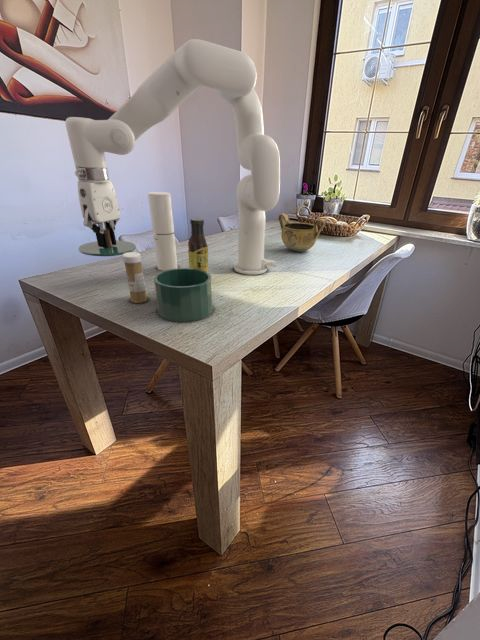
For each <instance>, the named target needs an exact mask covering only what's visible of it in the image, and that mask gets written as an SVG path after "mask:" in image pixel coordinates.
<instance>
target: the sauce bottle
mask: <svg viewBox="0 0 480 640" xmlns="http://www.w3.org/2000/svg"><path fill="white" fill-rule="evenodd" d="M189 222H190V227H191V230H190V231H191V232H190V234H191V235H190V237H189V239H188V243H187V246H188V247H187V248H188V250H187V251H188V252H187V253H188V268H191V269H198V270H203V271H205V272H207V273H209V246H208V244H207V240H206V237H205V232H204V225H205V220H204V219H203V218H195V217H194V218H190V221H189Z"/></svg>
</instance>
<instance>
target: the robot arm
mask: <svg viewBox="0 0 480 640" xmlns="http://www.w3.org/2000/svg"><path fill="white" fill-rule="evenodd" d="M257 78H258V72H257V68H256V64H255V63H254V61H253V59H252V58H251V57H250V56H249V55H248V54H247V53H246V52H243V51H240V50H238V49H234V48H230V47H227V46H224V45H220V44H217V43H214V42H211V41H207V40H203V39H199V38H191V39H189V40H187V41H186V42H184V43H183V44H182V45H181V46H180V47H179V48H178V49H175V51H174V52H173V53H172V54H171V55H170V56H169V57H168V58H166V60H165V61H163V63H162V64H161V65H160V66H159V67H158V68H156V69H155V70H154V71H153V72H152V73H151V74H150V75H149V76H148V77H147V78H145V80H144V81H142V83H141V84H140V85H139V86H138V87H137V88H136V90H135V92H134V93H133V94H132V95H131V96H130V97H129V98H128V100H127V101H126V102H125V103H123V104H122V105H121V106H120V107H119V108H118V109H117V110H116V111H115V112H114V113H113V114H112V115H111V116H110V117H109V118H108V119H93V118H89V117H87V118H86V117H80V116H79V117H78V116H69V117H67V118H66V119H65V128H66V133H67V137H68V141H69V145H70V149H71V154H72V158H73V163H74V167H75V171H74V174H75V176H76V177H77V194H78V201H79V206H80V211H81V215H82V218H83V223H82V224H83V226H84V227H87V228H89V229H90V230H91V231H92V233H94V234H95V238H96V241H97V242H98V246H99V247H105V248H108V241H107V236H106V233H104V229H103V228H108V229H109V231H110V236H111V241H112V245H116V240H117V239H116V238H117V237H116V234H115V231H116V225H117V223H118V222H119V220H120V218H121V210H120V205H119V201H118V196H117V193H116V190H115V186H114V184H113V182H112V180H110V177H109V170H108V166H107V160H106V155H105V153H109V154H115V155H119V156H124V155H125V156H126V155H128V154H130V153H131V152H132V151H133V150H134V148H135V144H136V141H137V140H138V139H139V138H140V137H141V136H142V135H143V134H145V133H146V132H147V131H149V129H151V128H152V127H154V126H156V125H158V124H160V123H162V122H163V121H165V120H166V119H167V118H169V117H170V116H171V115H172V114H173V113H174V112H175V111H176V110H177V109H178V108H179V107H181V105H182V104H183V103H184V102H185V101H187V99H189V97H191V95H193V94H194V93H195V92H196V91H197V90H198V89H199V88H200V87H202V86H203V87H207V88H211V89H213V90H215V91H216V92H217V94H218V95H219V96H220V97H221V98H223V99H224V100H225V101H226V102H227V103H228V105H229V106H230V108H231V110H232V113H233V117H234V125H235V135H236V136H235V137H236V153H237V160H238V163H239V164H240V166H241V167H242V169H244V170H248V171H250V174H247V175H245V176H243V177H242V178H241V179H240V180H239V181H238V184H237V187H236V201H237V210H238V211H237V212H238V232H237V233H238V236H237V237H238V238H237V239H238V241H237V243H238V244H237V247H238V248H237V262H236V263H235V264H234V265H233V270H234V271H235V272H237V273H239V274H242V275H250V276H251V275H253V276H255V275H263V274H265V273H266V272H267V271H268V267H276V265H277V264H276V260H273V259H266V258H265V256H264V255H265V237H266V221H267V219H266V212H270V211H272V210H273V209H274V208H275V207H276V205H277V204H278V202H279V199H280V195H281V193H280V191H281V154H280V150H279V147H278V145H277V143H276V141H275V140H274V139H273V138H272V137H271V136H270V135H267V134H265V128H264V127H265V126H264V115H263V113H264V112H263V107H262V104H261V103H262V102H261V100H260V98H259V95H258V93H257V92H256V90H255V87H256V84H257Z"/></svg>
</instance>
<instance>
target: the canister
mask: <svg viewBox="0 0 480 640" xmlns="http://www.w3.org/2000/svg"><path fill="white" fill-rule="evenodd" d="M212 283H213V282H212V275H211V274H210V273H209V272H208V273H207V272H205V271H203V270H198V269H191V268H189V267H179V268H178V267H177V268H176V269H169V270H166V271H163V270H161V271H160V272H158V273H156V274H155V275H154V276H153V286H154V291H155V299H156V307H157V311H158V314H159V316H160V317H161V318H163V319H164V320H167V321H171V322H176V323H177V322H178V323H189V322H196V321H201V320H203V319H205V318H207V317H208V316H210V315H211V314H212V312H213V286H212Z"/></svg>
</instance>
